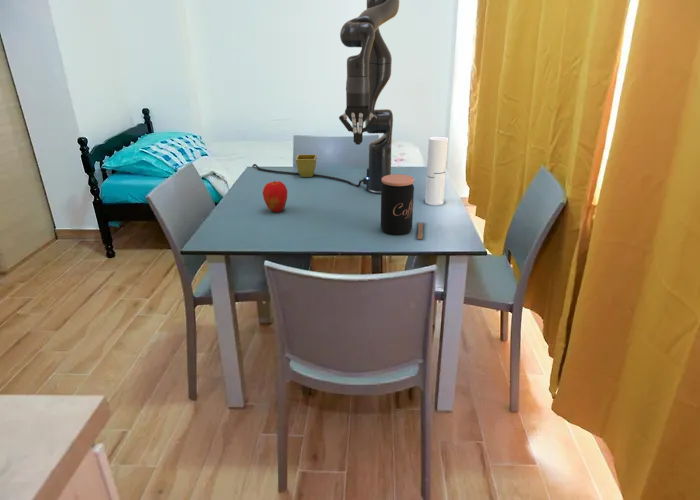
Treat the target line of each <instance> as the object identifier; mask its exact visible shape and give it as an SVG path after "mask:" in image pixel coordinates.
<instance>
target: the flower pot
mask: <svg viewBox="0 0 700 500" xmlns="http://www.w3.org/2000/svg"><path fill="white" fill-rule="evenodd" d="M295 162H296V163H295V164H296V169H297V173H299V174H300V175H299V176H300V177H301V178H312V177H314V176H313V174H315V170H316V167H317V154H297V156H296V158H295Z"/></svg>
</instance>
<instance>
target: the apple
mask: <svg viewBox="0 0 700 500" xmlns="http://www.w3.org/2000/svg"><path fill="white" fill-rule="evenodd" d="M262 196H263V197H262V198H263V201H264V203H265V205H266V207H267V209H268V210H269V211H271V212H273V213H279V212H282V211H283V210H284V208H285V207H286V204H287V200H288V189H287V186H286V184H284V183H283V182H282V181H279V180H278V181H277V180H274V181H270V182H268V183H265V185H264V187H263V190H262Z"/></svg>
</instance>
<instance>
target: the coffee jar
mask: <svg viewBox="0 0 700 500" xmlns="http://www.w3.org/2000/svg"><path fill="white" fill-rule="evenodd" d="M382 183H383V184H382V186H381V193H380V228H381V230H382V232H383V233H385V234H387V235H392V236H404V235H407V234H409V233H410V232H411V230H412V229H413V220H414V219H413V214H414V197H415V195H414V194H415V191H414V190H415V186H414V183H415V178H414V177H413V176H411V175H408V174H399V173H397V174H396V173H395V174H393V173H391V175H387V176H384V177H382Z"/></svg>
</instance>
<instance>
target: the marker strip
mask: <svg viewBox="0 0 700 500" xmlns="http://www.w3.org/2000/svg"><path fill="white" fill-rule="evenodd" d="M423 235H424V222H418V228H417V237H416V239H417V240H420V241H421V240H422V241H423Z"/></svg>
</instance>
